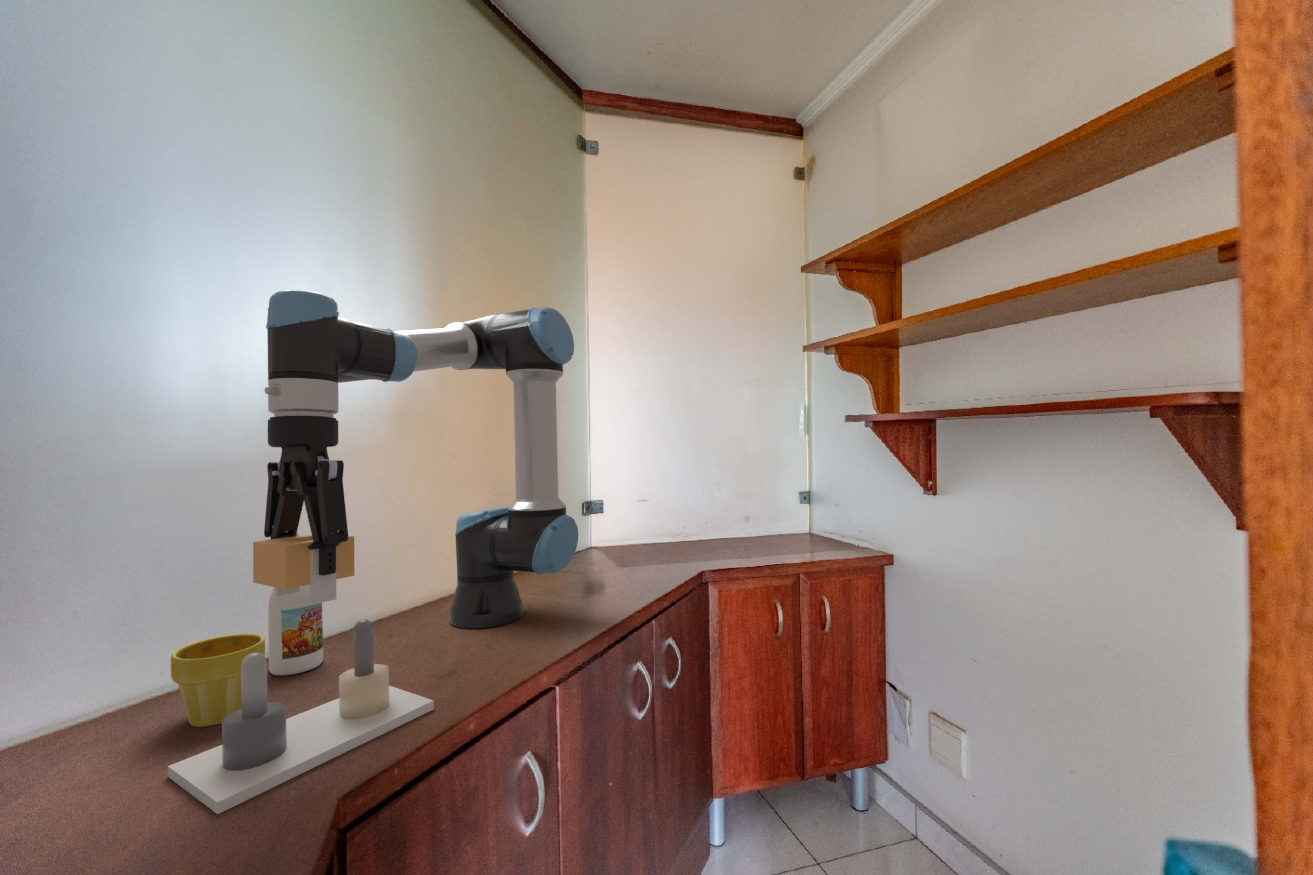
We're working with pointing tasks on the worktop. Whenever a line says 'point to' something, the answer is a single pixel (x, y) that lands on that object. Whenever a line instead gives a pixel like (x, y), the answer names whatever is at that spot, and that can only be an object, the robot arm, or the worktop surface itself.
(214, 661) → the plant pot
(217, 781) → the assembly board
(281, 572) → the collar
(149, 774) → the worktop surface
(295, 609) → the milk bottle
